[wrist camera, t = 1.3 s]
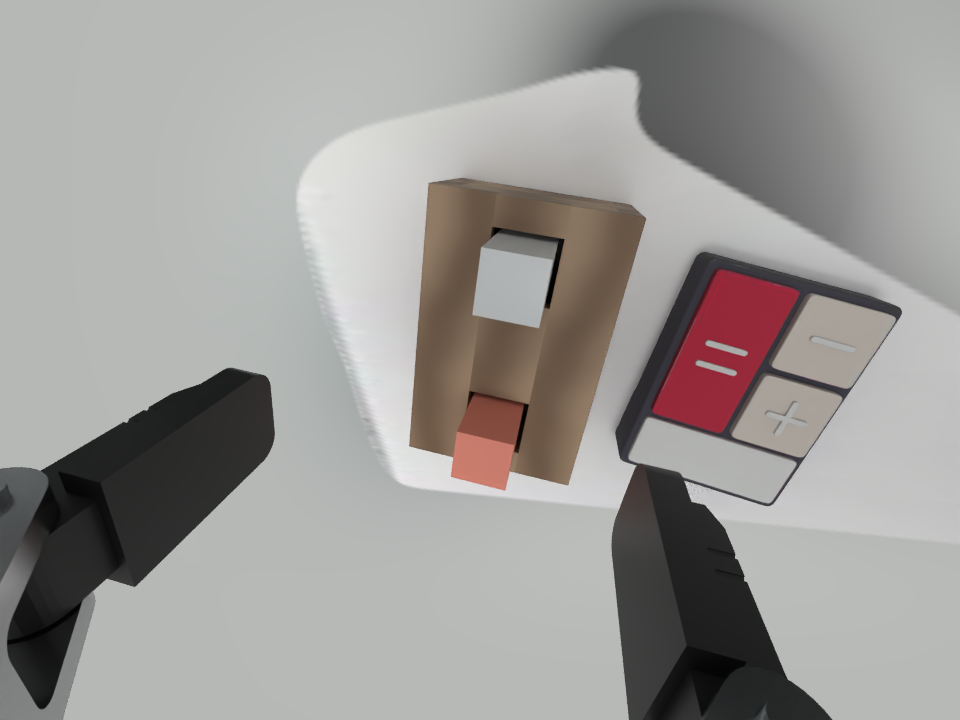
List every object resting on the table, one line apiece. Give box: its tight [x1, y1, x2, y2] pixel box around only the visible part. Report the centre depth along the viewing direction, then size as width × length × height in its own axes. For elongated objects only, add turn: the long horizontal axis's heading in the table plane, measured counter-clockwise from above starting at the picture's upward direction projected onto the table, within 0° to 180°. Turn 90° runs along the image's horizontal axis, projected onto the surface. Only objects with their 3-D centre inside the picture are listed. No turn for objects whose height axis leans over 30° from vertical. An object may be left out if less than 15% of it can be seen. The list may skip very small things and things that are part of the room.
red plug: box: [451, 392, 525, 490], centre depth 27 cm, size 3×3×7 cm
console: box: [409, 178, 646, 485], centre depth 28 cm, size 11×17×7 cm, turn 172°
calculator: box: [616, 252, 902, 506], centre depth 29 cm, size 11×4×15 cm
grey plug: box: [472, 229, 559, 328], centre depth 23 cm, size 3×3×7 cm
